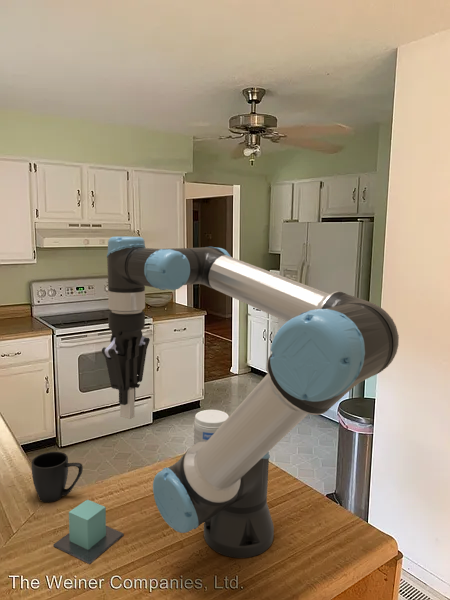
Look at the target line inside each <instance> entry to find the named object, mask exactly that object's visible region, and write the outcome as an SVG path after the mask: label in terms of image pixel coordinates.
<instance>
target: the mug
mask: <svg viewBox="0 0 450 600" xmlns="http://www.w3.org/2000/svg"><path fill="white" fill-rule="evenodd" d="M70 467H75V468H78V473H77V475H76V477H75V479H74V481H73V483H72V484H71V485H70V486H69V487H68V488H66V484H67V481H68V475H69V468H70ZM83 468H84V466H83V464H82V463H81V462H69V457H68V455H67V454H66V453H64V452H60V451H48V452H44V453H41V454H38V455H36V456H35V457H34V458H33V459H32V460H31V477H32V483H33V485H34V489H35V491H36V494H37V496H38V499H39V501H40V502H42V503H53V502H56V501H59V500H60V499H62V497H63V496H67V495H69V493H70V492H71V491H72V490H73V489H74V487H75V485H76V483H78V481H79V479H80V477H81V476H82V474H83Z"/></svg>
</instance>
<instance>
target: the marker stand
mask: <svg viewBox="0 0 450 600" xmlns="http://www.w3.org/2000/svg"><path fill="white" fill-rule="evenodd" d="M124 534H125V533H124V532H121V531H119V530H117V529H115V528H112V527H110V526H108V525H106V536H105V537H103V538H102V539H101V540H100V541H98V542H97V543H96V544H95V545H93V546H92V547H91V548H90V549H88V550H87V549H85V548H83V547H81V546H79V545H77V544H75V543H73V542H71V541H70V537H69V532H68V533H67V534H65V535H64V536H63V537H62V538H60V539H59V540H57V541H56V542H54V543H53V547H54V548H56V549H58V550H60V551H62V552H64V553H65V554H68V555H70V556H72V557H74V558H77V559H78V560H80V561H82V562H84V563H86V564H89V565H90V564H92V563H93V562H94V561H95V560H97V558H99V557H100V556H101V555H102V554H104V552H106V551H108V549H109V548H111V546H113V545H114V544H115V543H116V542H118V541H119V540H120V539H121V538H122V537H124V536H125V535H124Z"/></svg>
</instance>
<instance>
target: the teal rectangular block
mask: <svg viewBox="0 0 450 600" xmlns="http://www.w3.org/2000/svg"><path fill="white" fill-rule="evenodd" d="M106 507H107V506H104V505H101V504H99V503H97V502H95V501H92V500H89V499H86V500H85V501H83V502H80V504H78V505H77V506H75V507H74V508H73V509H71V510H70V511H68V524H69V525H68V530H69V531H68V533H69V537H70V541H71V542H73V543H75V544H77V545H79V546H81V547H83V548H85V549H87V550H88V549H90V548H91V547H92V546H93V545H95V544H96V543H97V542H98V541H100V540H101V539H102V538H103V537H105V536H106V526H107V518H106V517H107V516H106V515H107V514H106V511H107V510H106V509H107V508H106Z"/></svg>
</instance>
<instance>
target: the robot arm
mask: <svg viewBox="0 0 450 600" xmlns="http://www.w3.org/2000/svg"><path fill="white" fill-rule="evenodd" d="M106 259H107V290H108V297H107V299H108V302H107V303H108V309H109V310H110V311H109V312H108V313H107V314H108V319H107V320H108V328H109V330H110V332H111V337H110V344H109V345H108V346H107V347H105V346H103V348H102V349H101V353H102V355H103V357H104V358H105V362H106V367H107V368H106V369H107V372H108V373H107V374H108V377H109V381H110V382H109V383H110V387H111V389H114V390H117V391H118V402H119V403H118V404H119V411H120V412H119V414H120V415H119V416H120V417H121V418H124V419H128V420H132V419H134V418H135V400H136V389H139V387H140V386H141V384H139V383H141V382H142V381H143V376H144V371H145V363H146V358H147V351H148V350H147V349H148V346H149V344H150V339H151V338H149V337H145V336H144V335H143V332H142V330H143V329H145V326H146V322H145V321H146V317H145V316H146V315H145V311H144V309H145V308H146V291H145V290H146V287H148V288H149V287H150V288H154V289H158V290H161V291H165V290H167V291H169V290H170V291H176V290H179V289H180V288H182V287H183V286H187V285H188V286H189V285H198V284H199V285H203V286H206V287H208V288H210V289H213V290H215V291H218V292H219V293H222V294H224V295H227V296H228V297H231V298H233V299H235V300H237V301H240V302H242V303H244V304H247V305H248V306H251V307H252V308H255V309H257V310H259V311H260V312H261V311H262V312H264V313H266V314H268V315H270V316H273V317H274V318H276V319H279V320H281V321H284V322H285V323H284V324H283V325H282V326H281V327H280V328H279V329H278V331H277V332H276V334H275V335H274V337H273V339H272V342H271V346H270V352H272V353H271V354H270V355H269V357H268V358H267V360H266V375H265V376H264V377H263V378H262V379H261V380H260V381H259V382H258V383H257V385H256V386H255V387H254V388H253V389H252V391H251V392H250V393H248V395H246V397H245V398H244V399H243V400H242V401H241V402H240V404H239V405H238V406H237V407H236V408H235V409H234V410H233V411H232V413H230V415H228V416H229V417H228V418H227V420H226V421H225V422H224V423H223V424H222V425H221V426H220V427H219V428H218V430H217V431H216V432H215V433H214V434H213V435H212V436H211V437H210V438H209V440H208V441H207V442H206V441H204V442H198V443H196V444H194V443H193V444H192V445H191V446H190V447H189V448H188V449H187V451H186V452H185V453H184V454H183V455H182V456H181V458H180V459H179V460H178V461H176V462H175V463H173V464H172V465H170V466H168V467H163V468H162V470H161V471H158V472H157V474H155V476H154V478H153V481H152V493H153V497H154V502H155V506H156V507H157V509H158V512H159V514H160V516H161V518H162V519H163V520H164V522H165V523H166V524H167V525H168V526H169V527H170V528H172V530H174V531H176V532H177V533H182V534H185V533H189V532H190V531H192V530H196V529H197V528H198V527H200V526H201V525H202V524H203V538H204V541H205V543H206V544H207V545H208V546H209V547H210V548H211V549H212V550H213V551H215V552H216V553H218V554H220V555H223V556H226V557H230V558H234V559H235V558H236V559H241V558H242V559H243V558H244V559H245V558H251V557H255V556H258V555H260V554H262V553H264V552H266V551H267V550H268V549H269V548H270V547H271V546H272V544H273V541H274V532H275V531H274V529H275V527H274V522H273V520H272V519H273V518H272V515H271V512H270V509H269V505H268V483H269V465H270V464H269V463H270V461H269V460H270V457H271V456H270V451H271V450H272V449H273V448H274V447H276V445H277V444H278V443H280V442H281V440H283V438H285V437H286V436H287V435H288V434H289V433H290V432H291V431H292V430H293V429H294V428H295V427H296V426H297V425H298V424H300V422H301V421H303V420H304V419H305V418H306V417H308V416H309V415H314V416H318V415H319V416H321V415H323V414H325V413H326V412H328V411H329V410H330V409H331V408H332V407H333V406H335V404H336V403H338V402H339V401H340V400H341V399H342V398H343V397H344V396H345V395H346V394H348V392H350V391H351V390H352V389H353V388H354V387H355V386H357V385H358V384H360V383H362V382H363V381H365V380H368V379H369V378H372V377H374V376H376V375H378V374H380V373H382V372H383V371H385V369H387V368H388V367H389V366H390V364H392V362H393V361H394V359H395V357H396V355H397V353H398V349H399V348H398V347H399V338H400V337H399V332H398V328H397V325H396V323H395V322H394V319H393V317H391V316H390V314H389V313H388V312H387V311H386V310H384V308H382V307H381V306H379V305H377V304H376V303H373V302H371V301H368V300H365V299H362V298H359V297H357V296H353V295H351V294H348V293H345V292H342V291H340V290H338V291H333V292H332V293H328V292H325V291H323V290H320V289H318V288H315V287H312V286H309V285H307V284H305V283H301V282H299V281H296V280H293V279H290V278H288V277H286V276H283V275H280V274H277V273H275V272H272V271H269V270H266V269H265V268H262V267H259V266H257V265H253V264H251V263H248V262H246V261H243V260H240V259H238V258H235V257H232V256H231V254H230V253H229V252H228V251H227V250H226V249H225V248H222V247H214V246H205V247H188V248H187V247H183V248H181V247H180V248H175V247H174V248H148V247H147V246H146V244H145V239H144V237H142V236H126V235H125V236H111V237H109V239H108V241H107V253H106Z"/></svg>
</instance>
